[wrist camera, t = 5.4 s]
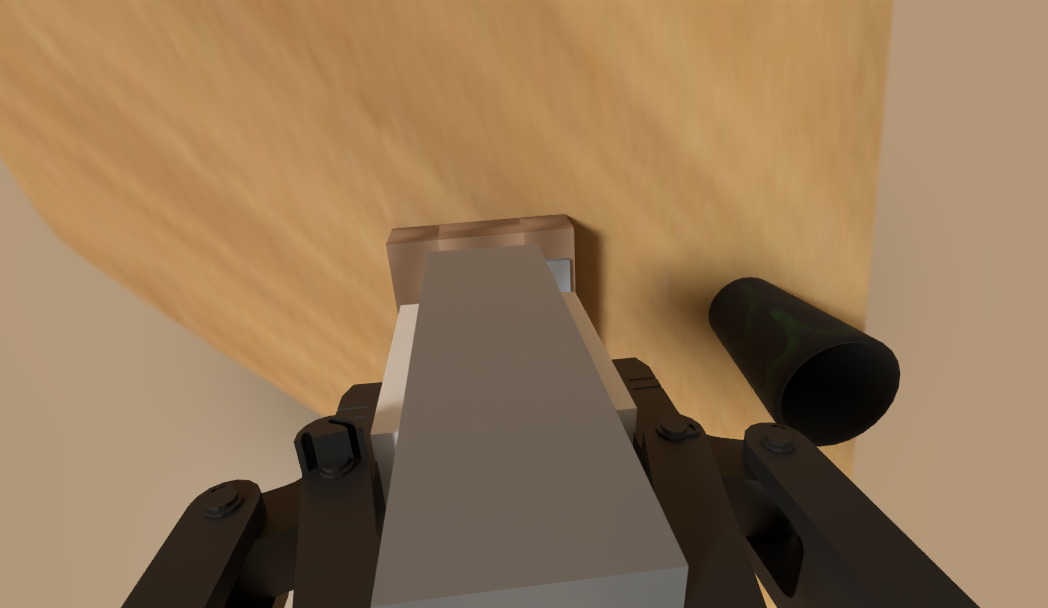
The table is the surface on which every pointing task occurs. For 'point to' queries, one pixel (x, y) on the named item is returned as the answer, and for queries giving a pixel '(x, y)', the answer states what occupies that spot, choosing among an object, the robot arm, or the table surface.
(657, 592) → the plug
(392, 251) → the socket block
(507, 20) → the table surface
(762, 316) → the cup
